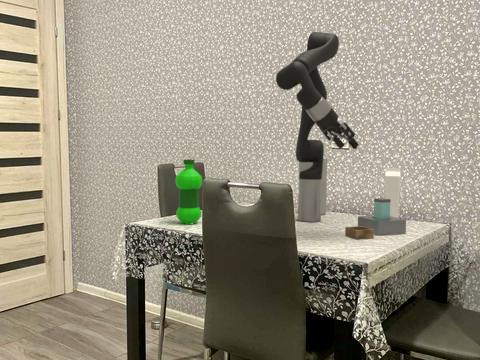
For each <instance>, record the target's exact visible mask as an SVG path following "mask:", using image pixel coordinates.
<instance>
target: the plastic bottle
mask: <svg viewBox="0 0 480 360" xmlns="http://www.w3.org/2000/svg"><path fill="white" fill-rule="evenodd" d="M195 164H196V163H195V159H190V158H189V159H186V158H185V159H183V165H184V169H182V170H181V171H180V172H179V173H177V175H176V176H175V179H174V180H175V187H176V188H177V189H178V207H177V209H176V212H175V216H176V217H177V219H178V221H180V222H181V224H183V223H185V224H184V225H192V224H191V223H195V224H196V223H197V222H198V221H199V220H200V219H201V218H202V210H201V208H200V189H201V188H202V185H203V177H202V175H201V174H200V173H199V172H198V171H197V170H195V168H194V165H195Z"/></svg>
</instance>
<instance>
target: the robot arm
mask: <svg viewBox="0 0 480 360" xmlns="http://www.w3.org/2000/svg"><path fill="white" fill-rule="evenodd" d="M306 46H307V47H306V50H305V51H303V52H301V53H300V54H298V55H297V56H296V57H295V58H294V59H293V60H292V61H291V62H290V63H289V64H287V65H286V66H284V67H282V69H280V70H278V72H277V73H276V76H275V83H276V85H277V86H278V88H280V89H281V90H284V91H289V90H291V89H293V88H295V87H297V86H298V85H301V89H300V90H299V91H298V92H297V93H296V96H295V97H296V100H297V101H298V103H299V104H300V105H301V115H300V125H299V130H298V131H299V132H298V136H297V140H296V147H295V158H296V161H297V162H298V163H299V162H313V164H312V166H311V167H310V168H308V169H306V170H304V171H301V172H300V173H299V172H298V194H299V203H297V204H298V205H297V206H298V208H297V212H298V213H297V214H298V215H297V220H298V222H312V223H314V222H320V221H321V220H322V215H321V189H322V171H323V159H324V155H325V153H324V151H325V147H324V143H323V141H322V140H320V139H309V136H310V133H311V131H312V129H313V127H314V126H315V125H316V126H317V127H318V129H319V130H320V132H321V133H322V134H323V135H324V137H325V138H326V140H327V141H331V142H334V144H335V145H336V146H337V147H338V149H343V148H344V146H345V143H344V142H343V141H342V140H345V141H346V142H347V143H348V145H349V146H351V148H352V149H353V150H356V149H357V148H358V147H359V143H358V141H356V139H355V138H354V137H355V136H356V133H355V132H354V131H353V129H352V128H350V126H349V125H348V124H347V123H346V121H345V122H342V124H341V123H340V122H339V121H338V119H339V114H338V113H337V112H336V111H335V110H334V109H333V107H332V106H331V104H330V103H329V102H328V101H327V98H328V97H327V96H328V92H327V88H326V86H325V83H324V81H323V79H322V78H321V75H320V72H319V71H320V70H319V68H318V66H321V65H322V64H324V63H326V62H327V61H330V60H332V59H333V58H335V56H336V55H337V53H338V51H339V47H340V39H339V36H338V35H337V34H335V33H331V32H322V31H312V32H311V33H310V34H309V36H308V40H307V44H306Z"/></svg>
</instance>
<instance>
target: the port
mask: <svg viewBox="0 0 480 360" xmlns="http://www.w3.org/2000/svg"><path fill="white" fill-rule="evenodd" d="M357 226H363V227H367V228H370V229H374V236H378V237H379V236H391V235H392V236H393V235H404V234H405V235H406V234H407V219H405V218H400V217H399V218H396V217H392V216H390V219H382V220H380V219H376V218H374V215H358V216H357Z"/></svg>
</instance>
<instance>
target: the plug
mask: <svg viewBox="0 0 480 360" xmlns="http://www.w3.org/2000/svg"><path fill="white" fill-rule="evenodd" d="M373 202H374V204H373V216H374V218H376V219H380V220H382V219H390V202H391V199H385V198H383V197H379V198H373Z"/></svg>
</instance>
